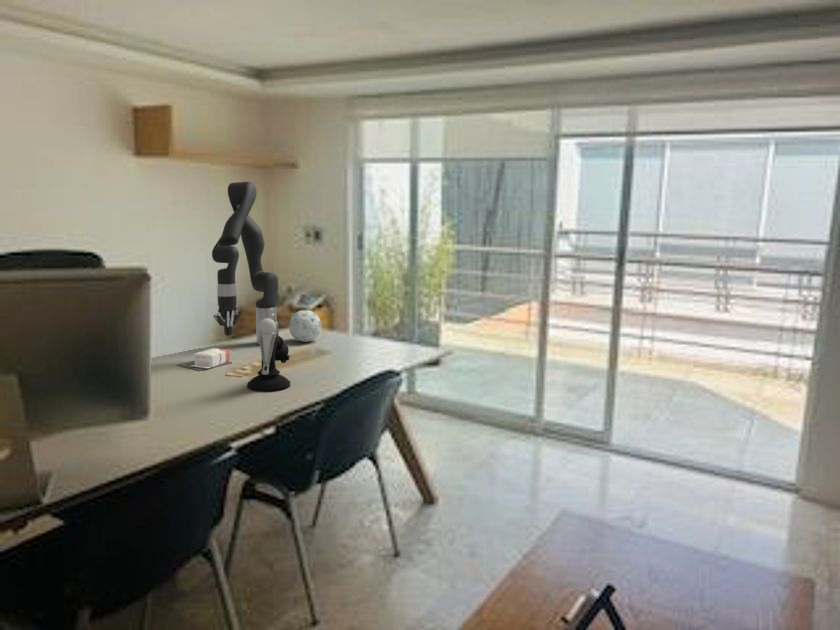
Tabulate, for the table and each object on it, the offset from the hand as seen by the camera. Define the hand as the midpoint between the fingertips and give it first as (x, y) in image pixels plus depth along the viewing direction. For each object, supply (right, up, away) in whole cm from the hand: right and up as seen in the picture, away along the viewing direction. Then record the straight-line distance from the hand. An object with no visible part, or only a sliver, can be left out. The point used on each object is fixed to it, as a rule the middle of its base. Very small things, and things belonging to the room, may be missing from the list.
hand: (228, 335), depth 274 cm
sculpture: (+26, -17, -32) cm, 44 cm away
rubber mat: (-7, -11, -8) cm, 16 cm away
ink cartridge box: (-2, -8, -3) cm, 8 cm away
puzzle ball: (+25, -4, +38) cm, 46 cm away
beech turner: (+12, -13, -16) cm, 24 cm away
